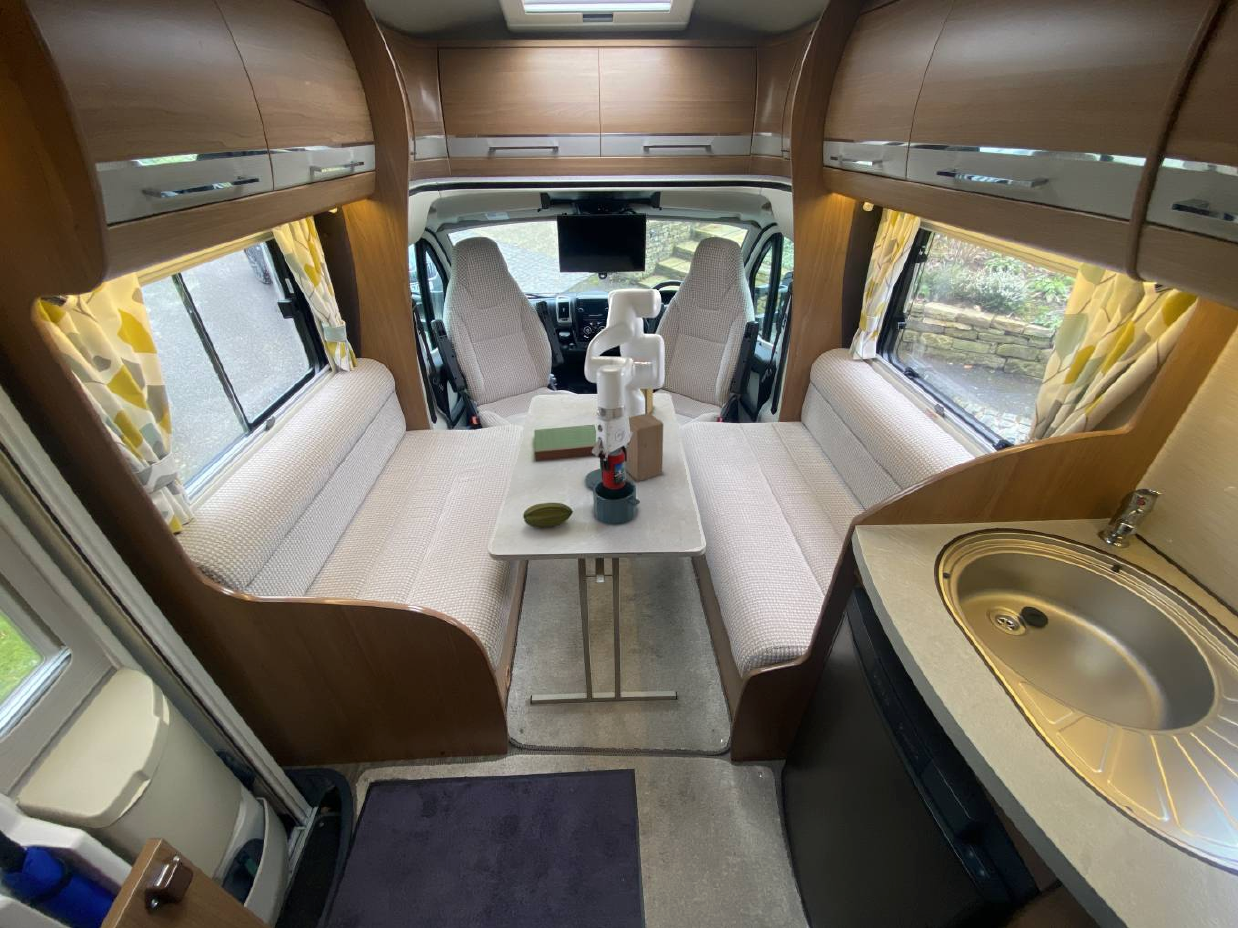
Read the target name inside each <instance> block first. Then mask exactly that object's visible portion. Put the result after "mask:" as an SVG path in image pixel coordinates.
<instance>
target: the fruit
mask: <svg viewBox="0 0 1238 928" xmlns="http://www.w3.org/2000/svg"><path fill="white" fill-rule="evenodd" d="M573 513H574V510H573V509H572V508H571V507H570V506H569V505H567V504H565V503H562V502H544V503H542V502H541V503H537V504H533V505H531V506H530V507H528V508H527V509H526V510H525V511H524V512H523V515H522V518H523V519H524V523H525V524H526V525H528V526H530V527H532V528H538V529H539V528H541V529H542V528H552V527H555V526H558V525H561V524H563V523H565V522H566V521H568V519H570V518H571V516H572V514H573Z"/></svg>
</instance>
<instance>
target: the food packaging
mask: <svg viewBox="0 0 1238 928" xmlns="http://www.w3.org/2000/svg"><path fill="white" fill-rule="evenodd" d="M633 362H642V363H651V362H649V361H633ZM640 390H641V392H642V393H643V395H644V397H645V414H646V413H649V414H651V412H652V411H653V409H654V389H640Z"/></svg>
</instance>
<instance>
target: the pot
mask: <svg viewBox="0 0 1238 928" xmlns="http://www.w3.org/2000/svg"><path fill="white" fill-rule="evenodd" d="M591 485H593V486H594V487H593V488H592V495H593V513H594V516H595V518H596V519H597V520H599V522H601V523H604V524H607V525H608V524H609V525H620V524H626V523H628V522H629V521H631V520H633V519H634V518H635V516H636V514H637V506H638V505H639V504H640V503H641V501H640V499H638V498H637V486H636V484H634V483H633V481H631V480H629V479H627V478H625V485H624V486H623V487H621V488H618V489H610V488H607V487H605V486H604V484H603V480H601V481H599V480H597V479H595V480H594V481H592V482H591Z"/></svg>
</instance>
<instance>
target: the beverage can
mask: <svg viewBox="0 0 1238 928" xmlns="http://www.w3.org/2000/svg"><path fill="white" fill-rule="evenodd" d="M604 454H605V451H603V455H604ZM607 459H608V460H609V471H608V472H606V471H604V470H603V484H604V486H605V487H607V488H610V489H618V488H621V487H623V486H624V485H625V479H626V470H625V454H624V452H623V451H622V448H618V449H616V450H614V451H613V452H610V453H609V455H608V458H607Z"/></svg>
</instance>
